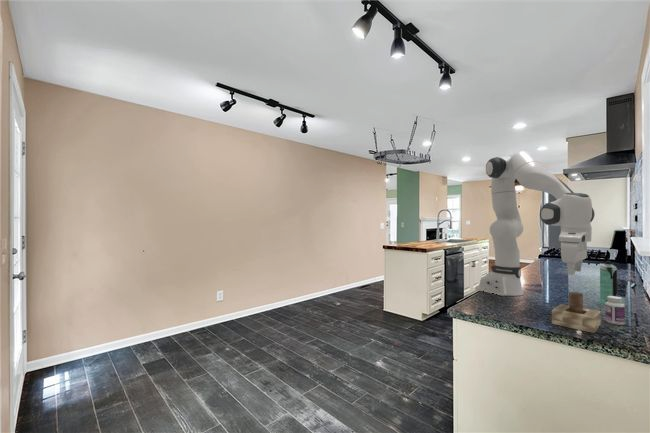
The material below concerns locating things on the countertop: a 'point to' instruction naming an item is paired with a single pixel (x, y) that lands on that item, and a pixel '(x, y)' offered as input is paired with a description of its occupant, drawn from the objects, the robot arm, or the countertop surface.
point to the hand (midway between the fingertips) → (574, 272)
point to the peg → (576, 302)
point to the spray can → (607, 282)
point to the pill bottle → (615, 310)
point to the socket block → (576, 318)
